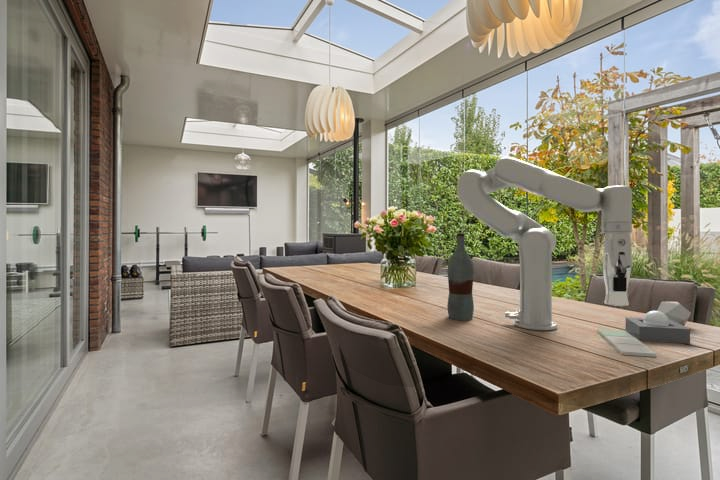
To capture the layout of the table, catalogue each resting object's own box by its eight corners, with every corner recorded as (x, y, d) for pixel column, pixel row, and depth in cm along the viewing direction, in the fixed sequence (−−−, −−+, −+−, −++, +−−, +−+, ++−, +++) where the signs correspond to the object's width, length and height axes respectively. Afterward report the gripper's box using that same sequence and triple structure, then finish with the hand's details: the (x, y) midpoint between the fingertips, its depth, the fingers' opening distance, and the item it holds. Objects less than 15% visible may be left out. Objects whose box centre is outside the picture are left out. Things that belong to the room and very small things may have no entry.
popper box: (639, 340, 116) (639, 326, 115) (625, 330, 127) (625, 317, 127) (690, 343, 112) (690, 329, 112) (671, 332, 123) (671, 319, 123)
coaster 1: (603, 337, 118) (603, 335, 118) (597, 331, 125) (597, 328, 125) (633, 339, 116) (633, 337, 116) (625, 333, 123) (625, 330, 123)
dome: (647, 333, 117) (648, 312, 117) (640, 328, 123) (640, 308, 123) (672, 334, 116) (672, 313, 116) (663, 329, 121) (663, 309, 121)
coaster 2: (612, 345, 111) (612, 342, 111) (604, 338, 118) (604, 335, 118) (644, 347, 108) (644, 344, 108) (634, 340, 116) (634, 337, 116)
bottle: (441, 316, 147) (441, 233, 146) (460, 314, 152) (461, 233, 151) (460, 321, 139) (460, 233, 138) (479, 318, 144) (480, 233, 143)
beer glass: (597, 302, 124) (597, 252, 123) (619, 301, 124) (619, 252, 124) (613, 306, 117) (613, 254, 116) (636, 306, 117) (636, 253, 117)
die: (691, 333, 126) (700, 306, 129) (664, 318, 127) (673, 292, 130) (671, 335, 134) (680, 310, 136) (646, 322, 135) (655, 297, 138)
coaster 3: (621, 354, 103) (621, 351, 103) (612, 346, 110) (612, 343, 110) (656, 357, 101) (656, 353, 101) (644, 348, 108) (645, 345, 108)
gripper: (641, 228, 110) (641, 294, 111) (621, 228, 127) (621, 286, 127) (610, 228, 113) (610, 293, 113) (594, 228, 129) (594, 285, 130)
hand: (616, 289), depth 120 cm, fingers closed on beer glass, 6 cm apart
